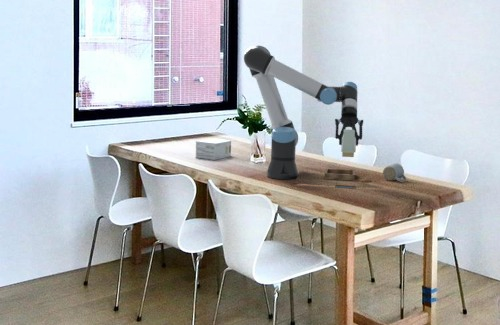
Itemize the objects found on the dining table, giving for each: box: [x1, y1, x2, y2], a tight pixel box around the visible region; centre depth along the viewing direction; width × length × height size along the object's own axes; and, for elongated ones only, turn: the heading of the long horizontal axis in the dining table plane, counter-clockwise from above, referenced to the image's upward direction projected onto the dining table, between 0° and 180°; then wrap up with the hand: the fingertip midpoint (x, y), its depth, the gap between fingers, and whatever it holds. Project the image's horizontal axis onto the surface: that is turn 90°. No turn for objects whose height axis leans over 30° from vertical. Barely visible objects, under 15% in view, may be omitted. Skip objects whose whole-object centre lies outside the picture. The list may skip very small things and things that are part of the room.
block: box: [341, 129, 355, 158], centre depth 317 cm, size 5×5×12 cm
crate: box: [323, 168, 356, 181], centre depth 326 cm, size 14×14×4 cm
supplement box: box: [195, 138, 232, 161], centre depth 382 cm, size 17×13×9 cm
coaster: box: [334, 184, 356, 190], centre depth 309 cm, size 9×9×1 cm
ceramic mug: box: [382, 163, 407, 183], centre depth 325 cm, size 11×8×8 cm
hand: (348, 150), depth 314 cm, fingers closed on block, 5 cm apart
